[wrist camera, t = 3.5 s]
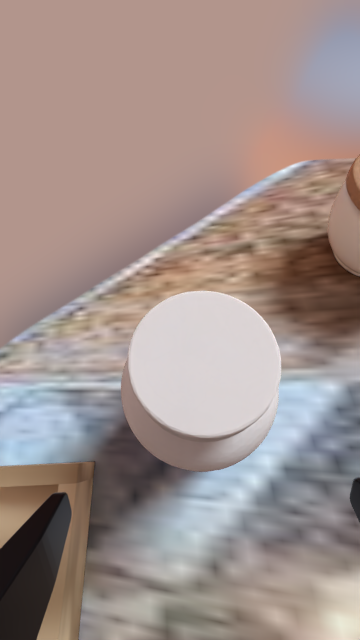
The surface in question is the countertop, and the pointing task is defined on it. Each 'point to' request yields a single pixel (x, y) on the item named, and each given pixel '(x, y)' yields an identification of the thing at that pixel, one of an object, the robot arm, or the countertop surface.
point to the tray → (77, 481)
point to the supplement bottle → (201, 381)
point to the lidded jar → (347, 222)
